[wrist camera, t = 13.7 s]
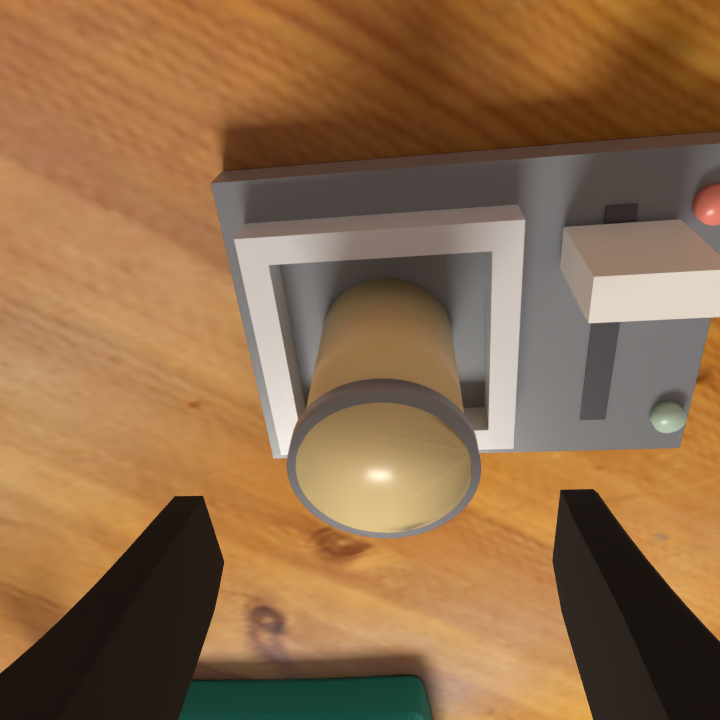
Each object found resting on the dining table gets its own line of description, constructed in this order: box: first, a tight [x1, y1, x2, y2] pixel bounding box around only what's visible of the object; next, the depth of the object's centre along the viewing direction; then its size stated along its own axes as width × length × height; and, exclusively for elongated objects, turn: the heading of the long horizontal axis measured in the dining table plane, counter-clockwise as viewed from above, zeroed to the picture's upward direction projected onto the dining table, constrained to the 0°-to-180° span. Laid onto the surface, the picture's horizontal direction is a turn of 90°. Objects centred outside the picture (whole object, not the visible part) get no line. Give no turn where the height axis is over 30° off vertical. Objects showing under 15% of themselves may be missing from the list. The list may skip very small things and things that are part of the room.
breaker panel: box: [211, 131, 720, 458], centre depth 18 cm, size 14×10×2 cm
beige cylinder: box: [287, 279, 481, 538], centre depth 16 cm, size 4×4×6 cm
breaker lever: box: [560, 219, 720, 323], centre depth 15 cm, size 3×1×3 cm, turn 96°
